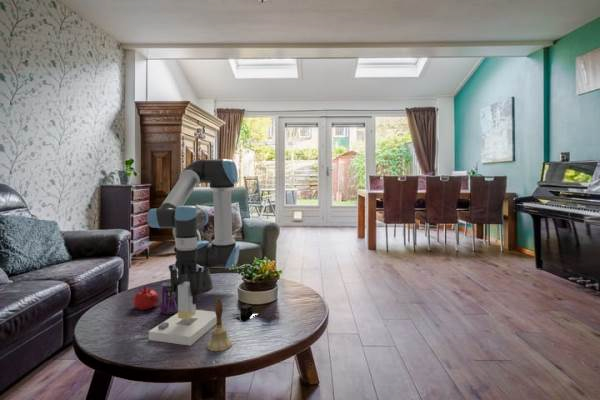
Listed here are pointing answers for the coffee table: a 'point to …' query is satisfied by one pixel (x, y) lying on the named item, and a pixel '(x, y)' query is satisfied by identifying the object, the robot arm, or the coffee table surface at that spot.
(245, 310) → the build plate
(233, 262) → the robot arm
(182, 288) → the plug
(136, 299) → the pomegranate
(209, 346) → the hand bell
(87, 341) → the coffee table surface
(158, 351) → the coffee table surface
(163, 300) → the beverage can
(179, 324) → the socket plate
